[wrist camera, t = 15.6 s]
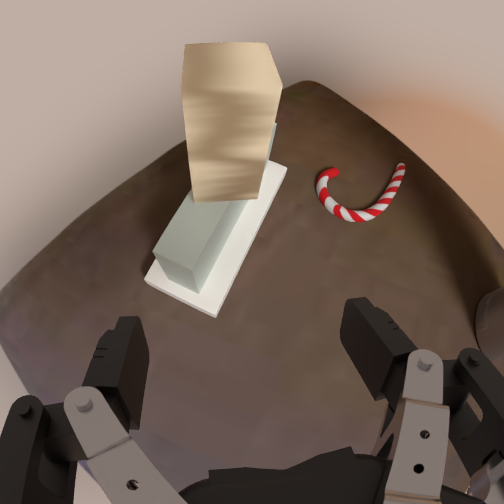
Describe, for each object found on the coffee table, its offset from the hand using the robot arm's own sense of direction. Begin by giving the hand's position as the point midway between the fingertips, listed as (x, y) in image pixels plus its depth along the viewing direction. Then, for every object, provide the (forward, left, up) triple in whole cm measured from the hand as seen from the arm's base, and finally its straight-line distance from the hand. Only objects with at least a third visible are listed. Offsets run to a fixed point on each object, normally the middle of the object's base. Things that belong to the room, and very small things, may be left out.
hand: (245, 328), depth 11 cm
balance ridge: (+6, -10, -15) cm, 19 cm away
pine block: (+6, -10, -7) cm, 14 cm away
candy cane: (-7, -23, -15) cm, 29 cm away
